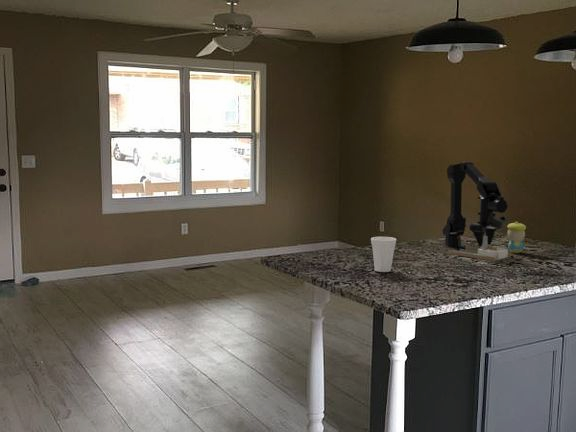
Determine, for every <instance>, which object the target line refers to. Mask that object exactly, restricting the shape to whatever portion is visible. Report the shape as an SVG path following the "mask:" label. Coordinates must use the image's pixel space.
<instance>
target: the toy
mask: <svg viewBox="0 0 576 432" xmlns="http://www.w3.org/2000/svg"><path fill="white" fill-rule="evenodd" d="M507 228H508V229H507V238H508V239H509V242H508V244H507V249H508V252H509V253H511V254H520V253H521V252H522V251H523V249H524V244H523V240H524V239H525V237H526V231H525V230H526V229H527V226H526V225H525V224H523V223H519V222H518V221H514V222H512V223H508V224H507Z"/></svg>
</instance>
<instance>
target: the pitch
mask: <svg viewBox="0 0 576 432" xmlns="http://www.w3.org/2000/svg"><path fill="white" fill-rule="evenodd" d="M478 249H481V247H474V246H465V249H463V248H459V250H455V249H454V250H450V249H449V250H448V249H447V254H448V255H453V256H459V257H467V258H471V259H478V260H484V261H488V262H495V261H497V260H495V257H489V256H483V255H478ZM510 257H512V253H511V252H510V251H508V257H506V258H510ZM506 258H505V259H506ZM499 260H501V259H499ZM499 260H498V261H499Z"/></svg>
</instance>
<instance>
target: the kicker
mask: <svg viewBox="0 0 576 432" xmlns="http://www.w3.org/2000/svg"><path fill="white" fill-rule="evenodd" d="M487 239H488V236H486V235H484V237H483V243H482V246H480V248H481V249H478V255H483V256H486V252H487V250H490V249H489V248H488V242H487Z"/></svg>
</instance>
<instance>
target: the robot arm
mask: <svg viewBox="0 0 576 432" xmlns="http://www.w3.org/2000/svg"><path fill="white" fill-rule="evenodd" d="M446 173H447V174H446V175H447V179H448V181H449V183H450V214H449V216H448V217H447V219H446V224H445V226H444V227H443V228H442V235H444V236H445V243H444V245H445V246H446V247H449V248H461V247H462V238H461V236H463V235H464V233H465V230H466V227H467V224H466V221H467V220H466V219H467V218H466V217H464V216H463V214H462V207H463V206H462V198H463V193H462V192H463V191H462V189H463V183H464V181H465V179H466V176H468V177H469V178H470V179H471V180H472V182H473V183H475V185H476V190H477V192H478V194H480V195H479V196H477V199H478V200H480V202H479V203H480V205H479V211H478V212H477V215H479V220H478V221H477V222H475V223H474V222H473V223H471V224H470V225H469V228H468V229H469V231H471V233H472V234H473V236H474V238H475V240H476V242H477V244H478V246H479V247H481V246H482V243H483V237H484V236H488V239H487V245H491V244H492V242H493V240H494V236H495V234H496V233H497V232H498V231H499V230H501V229H504V228H505V226H506V225H508V221H507V220H508V219H507V217H506V216H501V217H500V216H499V217H498V216H497V213H505V212H506V211H507V209H508V202H507V201H506V200H505V199H504V198H505V197H504V196H502V193H501V191H500V189H499V185H498V183H497V182H496V181H494V180H493V179H491V178H488V177H486V176H485V175H484V174H483V173H482V172H481V171H480V170H479V169H478V168H477V167H476V166H475V165H474V163H473V162H471V161H462V162H460V163H456V164H450V165H449V166H448V167H447V168H446Z"/></svg>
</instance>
